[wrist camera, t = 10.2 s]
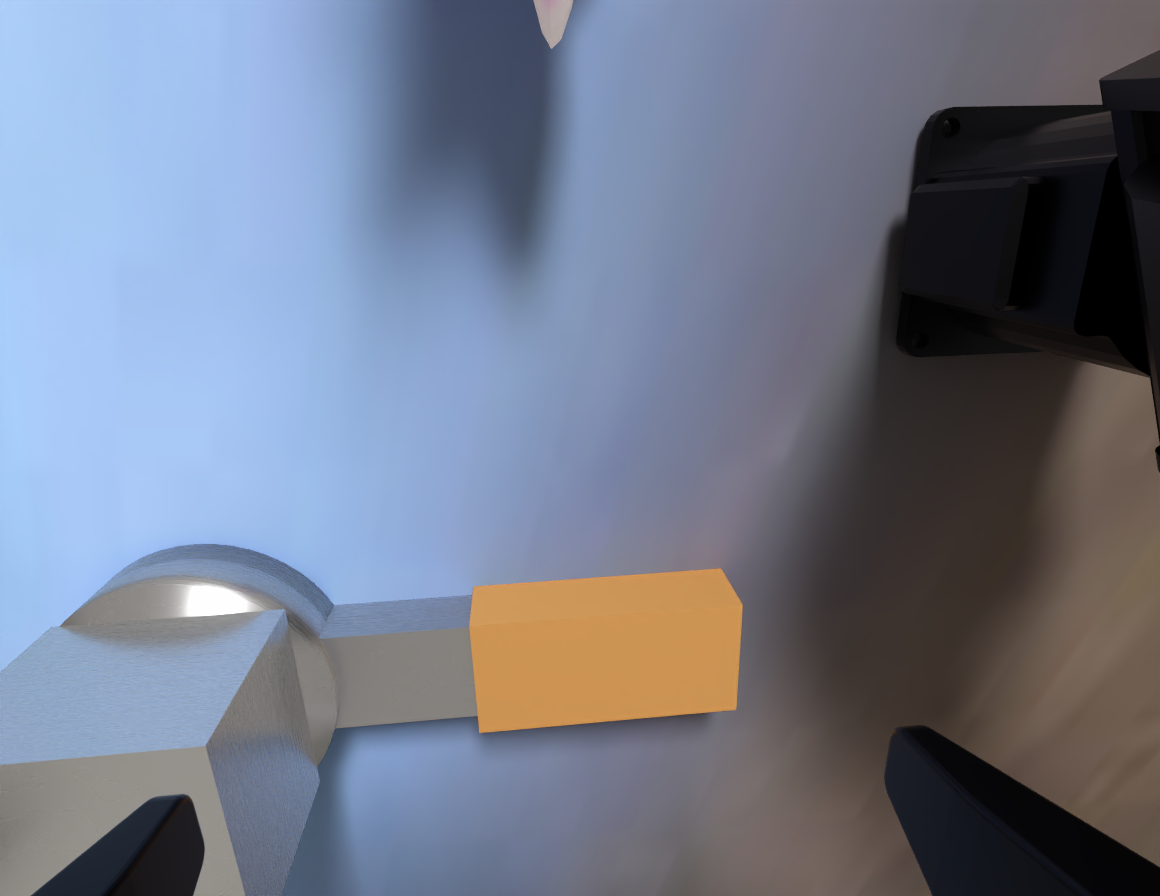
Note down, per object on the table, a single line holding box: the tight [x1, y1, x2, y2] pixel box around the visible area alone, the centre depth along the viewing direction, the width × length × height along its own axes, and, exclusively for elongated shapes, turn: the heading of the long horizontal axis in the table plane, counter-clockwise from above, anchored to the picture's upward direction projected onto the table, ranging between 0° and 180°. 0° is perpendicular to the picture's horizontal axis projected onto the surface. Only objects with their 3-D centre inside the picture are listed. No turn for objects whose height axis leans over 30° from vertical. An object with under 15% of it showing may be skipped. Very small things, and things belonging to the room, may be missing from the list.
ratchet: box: [60, 544, 743, 767], centre depth 19 cm, size 20×8×5 cm, turn 92°
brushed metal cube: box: [0, 609, 320, 896], centre depth 17 cm, size 6×6×5 cm
